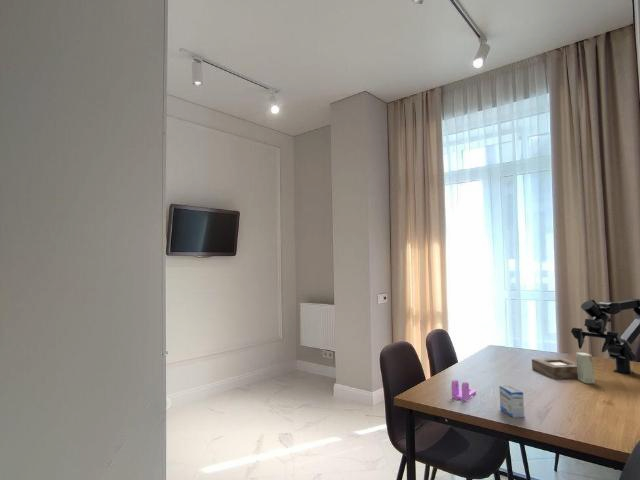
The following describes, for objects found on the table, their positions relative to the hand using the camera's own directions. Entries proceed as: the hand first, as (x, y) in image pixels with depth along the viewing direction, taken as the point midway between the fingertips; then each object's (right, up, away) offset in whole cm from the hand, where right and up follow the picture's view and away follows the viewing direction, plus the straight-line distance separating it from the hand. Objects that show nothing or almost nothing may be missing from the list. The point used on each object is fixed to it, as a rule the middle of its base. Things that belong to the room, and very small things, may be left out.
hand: (590, 350), depth 170 cm
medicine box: (-56, -12, -38) cm, 69 cm away
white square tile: (-9, -11, +9) cm, 17 cm away
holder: (-9, -14, +9) cm, 19 cm away
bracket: (-65, -14, -18) cm, 69 cm away
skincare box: (-6, -13, -5) cm, 15 cm away
